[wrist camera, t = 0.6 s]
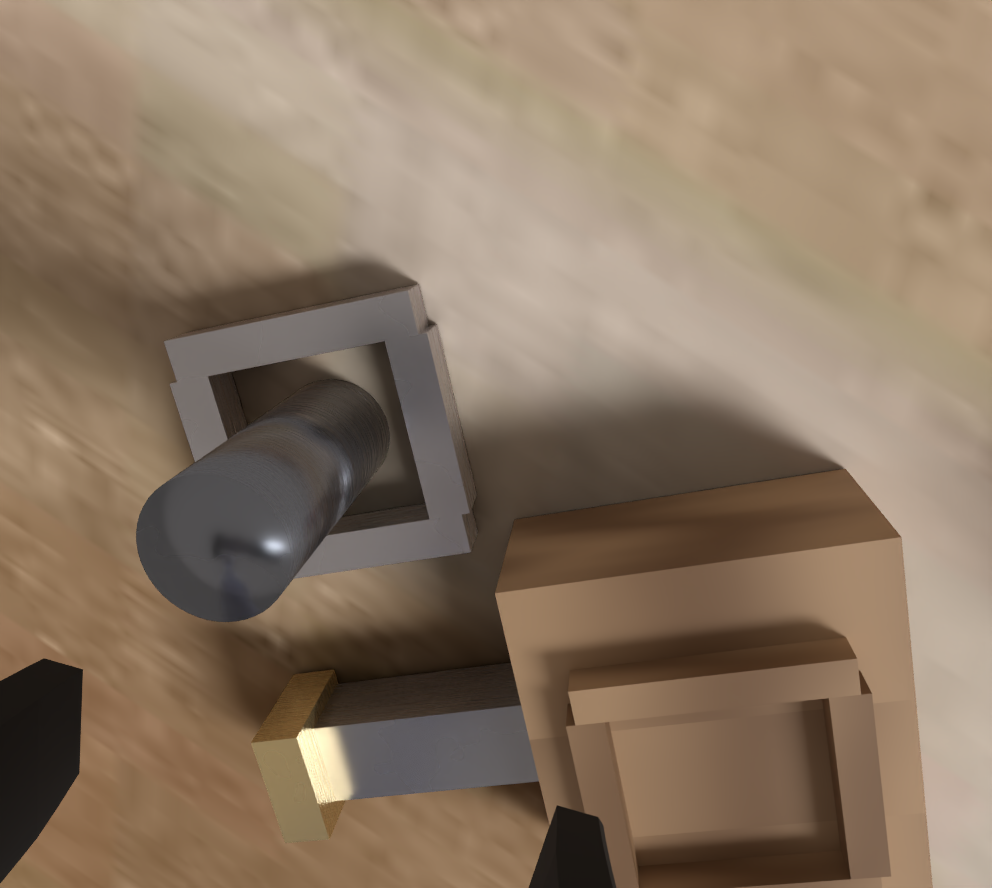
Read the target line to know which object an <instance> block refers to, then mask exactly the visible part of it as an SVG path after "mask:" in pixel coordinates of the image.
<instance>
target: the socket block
mask: <svg viewBox="0 0 992 888" xmlns="http://www.w3.org/2000/svg"><path fill="white" fill-rule="evenodd" d="M495 596H496V600H497V605H498V609H499V613H500V617H501V622H502V626H503V630H504V634H505V639H506V643H507V647H508V651H509V656H510V660H511V664H512V668H513V673H514V677H515V681H516V685H517V690H518V694H519V698H520V702H521V706H522V711H523V715H524V719H525V723H526V728H527V732H528V736H529V740H530V745H531V749H532V753H533V757H534V762H535V766H536V770H537V774H538V779H539V783H540V787H541V791H542V796H543V800H544V804H545V808H546V813H547V817H548V821H549V825H550V824H551V821H552V818H553V815H554V812H555V809H556V806H557V805H558V806H561V807H565V808H568V809H572V810H575V811H579V812H582V813H586V814H589V815H593V816H596V817H599V819H600V821H601V822H602V824H603V826H604V832H605V838H606V843H607V848H608V853H609V858H610V862H611V867H612V871H613V875H614V880H615V884H616V888H933V886H932V875H931V864H930V853H929V842H928V830H927V819H926V808H925V797H924V786H923V774H922V763H921V752H920V741H919V730H918V718H917V707H916V696H915V685H914V674H913V662H912V651H911V640H910V629H909V617H908V606H907V595H906V584H905V573H904V561H903V550H902V539H901V536H900V535H899V534H898V532H897V531H896V530H895V529H894V528H893V526H892V525H891V524H890V523H889V521H888V520H887V519H886V518H885V517H884V515H883V514H882V513H881V512H880V510H879V509H878V508H877V507H876V506H875V504H874V503H873V502H872V501H871V499H870V498H869V497H868V496H867V495H866V493H865V492H864V491H863V490H862V488H861V487H860V486H859V485H858V484H857V482H856V481H855V480H854V479H853V477H852V476H851V475H850V474H849V472H848V471H847V470H846V469H840V470H834V471H827V472H821V473H814V474H808V475H801V476H795V477H788V478H782V479H775V480H769V481H762V482H756V483H749V484H743V485H736V486H730V487H723V488H717V489H710V490H704V491H697V492H691V493H684V494H678V495H671V496H665V497H658V498H652V499H645V500H639V501H632V502H626V503H619V504H613V505H606V506H600V507H593V508H587V509H580V510H574V511H567V512H561V513H554V514H548V515H541V516H535V517H528V518H522V519H515V520H514V523H513V527H512V531H511V535H510V538H509V542H508V546H507V550H506V553H505V557H504V561H503V565H502V568H501V572H500V576H499V580H498V583H497V587H496V591H495Z"/></svg>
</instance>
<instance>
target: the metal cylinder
mask: <svg viewBox="0 0 992 888" xmlns="http://www.w3.org/2000/svg"><path fill="white" fill-rule="evenodd" d="M389 442H390V433H389V427H388V423H387V420H386V417H385V415H384V413H383V411H382V409H381V407H380V406H379V404H378V403H377V402H376V401H375V399H374V398H373V397H372V396H370V395H369V394H368V393H367V392H366V391H364V390H363V389H361V388H360V387H358V386H356V385H354V384H351V383H349V382H345V381H341V380H331V379H327V380H320V381H316V382H313V383H310V384H308V385H306V386H305V387H303V388H301V389H300V390H298V391H297V392H295V393H294V394H293V395H291V396H290V397H288V398H287V399H285V400H284V401H283V402H281V403H280V404H278V405H277V406H275V407H274V408H272V409H271V410H270V411H268V412H267V413H265V414H264V415H262V416H261V417H260V418H258V419H257V420H255V421H254V422H252V423H251V424H249V425H248V426H247V427H245V428H244V429H242V430H241V431H239V432H238V433H236V434H235V435H234V436H232V437H231V438H229V439H228V440H226V441H225V442H224V443H222V444H221V445H219V446H218V447H216V448H215V449H213V450H212V451H211V452H209V453H208V454H206V455H205V456H203V457H202V458H201V459H199V460H198V461H196V462H195V463H193V464H192V465H190V466H189V467H188V468H186V469H185V470H183V471H182V472H180V473H179V474H178V475H176V476H175V477H173V478H172V479H170V480H169V481H167V482H166V483H165V484H163V485H162V486H160V487H159V488H158V489H157V490H156V491H154V493H153V494H152V495H151V496H150V497H149V498H148V500H147V501H146V503H145V504H144V506H143V508H142V510H141V513H140V515H139V519H138V523H137V531H136V542H137V549H138V554H139V557H140V561H141V563H142V565H143V568H144V570H145V572H146V574H147V575H148V577H149V579H150V580H151V582H152V583H153V584H154V586H155V587H156V588H157V589H158V591H159V592H160V593H161V594H162V595H163V596H164V597H165V598H167V599H168V600H169V601H170V602H171V603H173V604H174V605H176V606H177V607H178V608H180V609H182V610H184V611H185V612H187V613H189V614H192V615H194V616H197V617H199V618H203V619H206V620H211V621H218V622H233V621H240V620H245V619H248V618H251V617H254V616H256V615H258V614H260V613H262V612H263V611H265V610H266V609H267V608H269V607H270V606H271V605H272V604H273V603H274V602H275V601H276V600H277V599H278V598H279V596H280V595H281V594H282V592H283V591H284V590H285V589H286V587H287V586H288V585H289V584H290V582H291V581H292V580H293V578H294V577H295V576H296V575H297V573H298V572H299V571H300V569H301V568H302V567H303V566H304V564H305V563H306V562H307V560H308V559H309V558H310V557H311V555H312V554H313V553H314V551H315V550H316V549H317V548H318V546H319V545H320V544H321V542H322V541H323V540H324V539H325V537H326V536H327V535H328V533H329V532H330V531H331V530H332V528H333V527H334V526H335V524H336V523H337V522H338V521H339V519H340V518H341V517H342V515H343V514H344V513H345V512H346V510H347V509H348V508H349V506H350V505H351V504H352V503H353V501H354V500H355V499H356V497H357V496H358V495H359V494H360V492H361V491H362V490H363V489H364V487H365V486H366V485H367V483H368V482H369V481H370V480H371V478H372V477H373V476H374V474H375V473H376V472H377V471H378V469H379V468H380V467H381V465H382V464H383V462H384V460H385V458H386V455H387V453H388V449H389Z"/></svg>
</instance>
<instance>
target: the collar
mask: <svg viewBox="0 0 992 888" xmlns="http://www.w3.org/2000/svg"><path fill="white" fill-rule="evenodd" d="M383 341H385V345H386V348H387V352H388V356H389V360H390V364H391V368H392V372H393V376H394V380H395V384H396V388H397V392H398V396H399V400H400V404H401V408H402V412H403V416H404V420H405V424H406V428H407V432H408V436H409V440H410V444H411V448H412V452H413V456H414V459H415V463H416V467H417V471H418V475H419V479H420V483H421V487H422V491H423V495H424V499H425V504H419V505H413V506H407V507H400V508H394V509H388V510H382V511H375V512H369V513H363V514H357V515H350V516H344V517H341V518H340V519H339V521H338V522H337V523H336V524H335V526H334V527H333V528H332V530H331V531H330V532H329V533H328V535H327V536H326V537H325V539H324V540H323V541H322V542H321V544H320V545H319V546H318V548H317V549H316V550H315V551H314V553H313V554H312V555H311V557H310V558H309V559H308V560H307V562H306V563H305V564H304V566H303V567H302V568H301V569H300V571H299V572H298V573H297V575H296V576H295V577H294V578H301V577H308V576H315V575H321V574H328V573H335V572H342V571H348V570H355V569H362V568H369V567H375V566H382V565H389V564H396V563H402V562H409V561H416V560H423V559H430V558H436V557H443V556H450V555H457V554H463V553H470V552H471V551H472V548H473V545H474V542H475V539H476V537H477V534H478V531H477V526H476V522H475V518H474V514H473V510H472V506H473V504H474V502H475V499H476V497H477V493H476V489H475V484H474V480H473V476H472V471H471V467H470V463H469V459H468V454H467V450H466V446H465V442H464V437H463V433H462V429H461V424H460V420H459V416H458V412H457V407H456V403H455V399H454V394H453V390H452V386H451V382H450V377H449V373H448V369H447V365H446V360H445V356H444V352H443V347H442V343H441V339H440V335H439V330H438V326H437V324H435V325H430V326H429V324H428V319H427V315H426V311H425V307H424V303H423V298H422V294H421V290H420V286H419V284H417V285H412V286H407V287H402V288H398V289H393V290H388V291H383V292H378V293H374V294H369V295H364V296H359V297H355V298H350V299H345V300H340V301H335V302H331V303H326V304H321V305H316V306H311V307H307V308H302V309H297V310H292V311H288V312H283V313H278V314H273V315H268V316H264V317H259V318H254V319H249V320H244V321H240V322H235V323H230V324H225V325H220V326H216V327H211V328H206V329H201V330H197V331H192V332H187V333H185V334H182V335H179V336H177V337H174V338H171V339H169V340H166V341H164V344H165V347H166V350H167V353H168V356H169V359H170V362H171V365H172V368H173V371H174V374H175V377H176V381H174V382H172V383H170V387H171V390H172V393H173V396H174V399H175V402H176V405H177V408H178V411H179V414H180V418H181V421H182V424H183V427H184V430H185V433H186V436H187V439H188V442H189V445H190V448H191V451H192V454H193V457H194V460H195V462H196V461H198V460H199V459H201V458H202V457H203V456H205V455H206V454H208V453H209V452H211V451H212V450H213V449H215V448H216V447H218V446H219V445H221V444H222V443H224V442H225V441H226V440H228V439H229V438H231V437H232V436H234V435H235V434H236V433H238V432H239V431H241V430H242V429H244V428H245V427H247V426H248V425H247V422H246V419H245V416H244V412H243V409H242V406H241V402H240V399H239V396H238V393H237V389H236V386H235V383H234V380H233V376H232V373H231V372H232V371H237V370H242V369H247V368H252V367H257V366H262V365H267V364H272V363H277V362H282V361H287V360H292V359H297V358H303V357H308V356H313V355H318V354H323V353H328V352H333V351H338V350H343V349H348V348H353V347H358V346H363V345H368V344H373V343H378V342H383ZM294 578H293V579H294Z"/></svg>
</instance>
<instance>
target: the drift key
mask: <svg viewBox="0 0 992 888" xmlns="http://www.w3.org/2000/svg"><path fill="white" fill-rule="evenodd" d="M251 745H252V748H253V751H254V753H255V756H256V759H257V762H258V765H259V768H260V771H261V774H262V777H263V780H264V783H265V786H266V789H267V792H268V795H269V797H270V800H271V803H272V806H273V809H274V812H275V815H276V818H277V821H278V824H279V827H280V830H281V833H282V836H283V839H284V841H285V843H292V842H304V841H315V840H326V839H330V837H331V834H332V832H333V829H334V827H335V825H336V822H337V820H338V817H339V815H340V813H341V810H342V808H343V805H344V803H345V801H346V800H352V799H362V798H372V797H383V796H393V795H403V794H414V793H424V792H434V791H445V790H455V789H465V788H476V787H486V786H496V785H507V784H517V783H527V782H538V781H539V779H538V774H537V770H536V766H535V762H534V757H533V753H532V749H531V745H530V740H529V736H528V732H527V728H526V723H525V719H524V715H523V711H522V706H521V702H520V698H519V694H518V690H517V685H516V681H515V677H514V673H513V668H512V664H511V663H504V664H496V665H488V666H480V667H472V668H463V669H455V670H447V671H439V672H431V673H423V674H415V675H407V676H398V677H390V678H382V679H374V680H366V681H358V682H350V683H341V684H339V683H338V680H337V676H336V673H335V670H334V669H333V670H326V671H318V672H310V673H302V674H294V675H293V677H292V678H291V680H290V681H289V683H288V685H287V686H286V688H285V689H284V691H283V693H282V694H281V696H280V697H279V699H278V701H277V702H276V704H275V705H274V707H273V709H272V710H271V712H270V713H269V715H268V717H267V718H266V720H265V721H264V723H263V725H262V726H261V728H260V729H259V731H258V733H257V734H256V736H255V737H254V739H253V741H252V742H251Z"/></svg>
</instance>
